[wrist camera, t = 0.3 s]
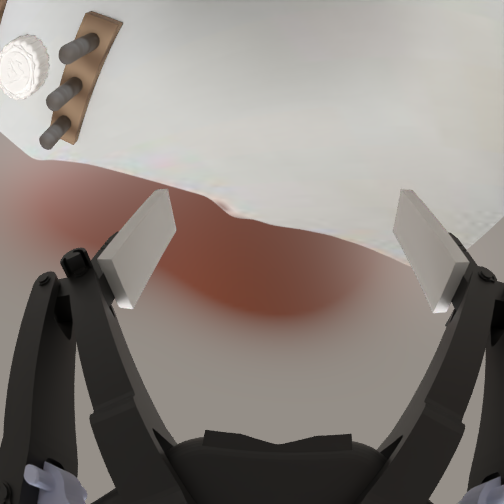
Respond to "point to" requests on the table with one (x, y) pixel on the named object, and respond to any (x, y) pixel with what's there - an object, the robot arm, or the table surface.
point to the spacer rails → (77, 76)
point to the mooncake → (23, 67)
